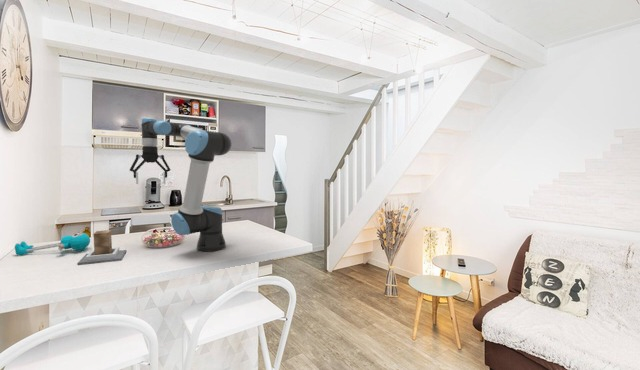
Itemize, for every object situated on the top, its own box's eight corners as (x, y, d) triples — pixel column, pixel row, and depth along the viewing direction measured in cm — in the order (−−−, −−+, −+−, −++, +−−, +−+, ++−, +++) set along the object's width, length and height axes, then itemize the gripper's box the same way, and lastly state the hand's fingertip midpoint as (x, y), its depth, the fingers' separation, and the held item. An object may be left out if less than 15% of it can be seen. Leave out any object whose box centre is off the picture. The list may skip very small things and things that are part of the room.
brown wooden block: (112, 253, 153) (111, 230, 152) (109, 256, 148) (108, 232, 147) (97, 254, 151) (96, 231, 150) (94, 258, 145) (93, 233, 144)
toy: (31, 237, 163) (95, 226, 172) (35, 255, 165) (99, 243, 173) (1, 249, 142) (76, 236, 150) (7, 269, 143) (81, 255, 152)
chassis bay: (126, 251, 160) (126, 246, 159) (121, 260, 146) (121, 254, 146) (86, 255, 152) (86, 249, 152) (77, 265, 139) (77, 258, 139)
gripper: (174, 147, 180) (175, 182, 182) (125, 145, 170) (126, 183, 172) (174, 146, 174) (175, 183, 175) (122, 145, 163) (124, 184, 165)
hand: (151, 183), depth 173 cm, fingers open, 13 cm apart
